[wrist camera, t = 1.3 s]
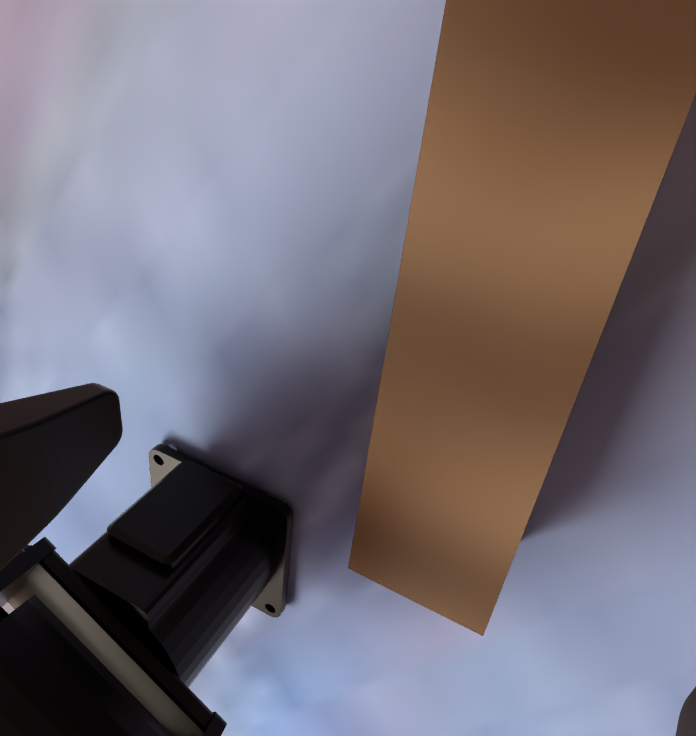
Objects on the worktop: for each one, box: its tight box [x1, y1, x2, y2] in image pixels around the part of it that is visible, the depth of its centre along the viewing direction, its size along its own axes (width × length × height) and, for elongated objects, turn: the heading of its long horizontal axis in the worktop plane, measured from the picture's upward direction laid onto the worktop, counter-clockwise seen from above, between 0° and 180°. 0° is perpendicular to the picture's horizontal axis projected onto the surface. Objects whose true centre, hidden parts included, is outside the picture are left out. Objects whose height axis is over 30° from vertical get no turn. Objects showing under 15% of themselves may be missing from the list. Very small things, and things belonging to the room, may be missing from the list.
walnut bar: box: [348, 0, 696, 636], centre depth 14 cm, size 16×4×4 cm, turn 173°
